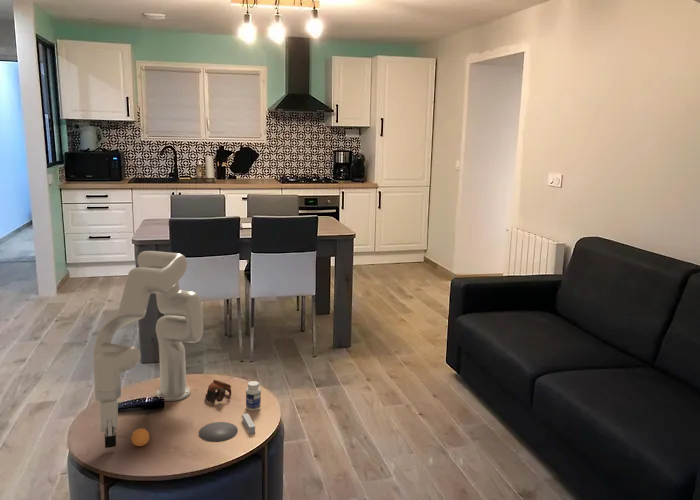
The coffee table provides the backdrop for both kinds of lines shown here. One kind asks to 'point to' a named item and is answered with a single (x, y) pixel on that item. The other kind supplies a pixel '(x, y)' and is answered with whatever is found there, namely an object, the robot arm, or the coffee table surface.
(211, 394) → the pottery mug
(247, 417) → the bar
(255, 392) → the pill bottle
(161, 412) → the coffee table surface
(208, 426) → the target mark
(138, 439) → the ball
